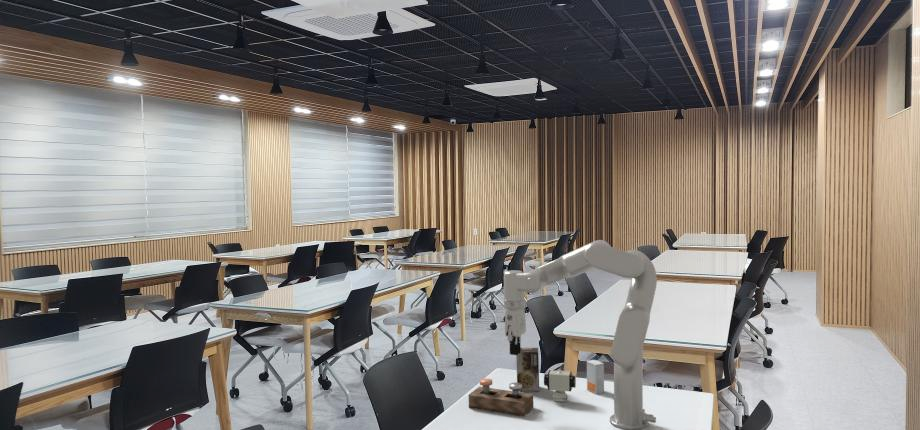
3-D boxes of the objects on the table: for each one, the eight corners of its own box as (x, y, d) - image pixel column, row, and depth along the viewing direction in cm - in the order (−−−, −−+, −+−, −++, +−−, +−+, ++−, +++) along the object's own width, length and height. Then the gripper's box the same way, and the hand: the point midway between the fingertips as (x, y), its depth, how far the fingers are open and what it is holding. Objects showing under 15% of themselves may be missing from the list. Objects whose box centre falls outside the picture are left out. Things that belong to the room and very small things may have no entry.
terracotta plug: (494, 393, 229) (494, 379, 229) (489, 397, 225) (489, 383, 225) (483, 391, 231) (482, 377, 231) (477, 395, 227) (477, 381, 227)
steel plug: (524, 397, 224) (524, 383, 224) (519, 401, 220) (519, 387, 219) (512, 395, 226) (512, 381, 226) (507, 399, 222) (507, 385, 222)
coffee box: (539, 386, 249) (538, 347, 248) (539, 391, 243) (538, 351, 242) (516, 385, 250) (516, 347, 249) (516, 391, 244) (516, 351, 243)
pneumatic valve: (575, 404, 228) (574, 372, 227) (544, 401, 231) (543, 370, 231) (576, 399, 233) (576, 368, 233) (546, 396, 236) (545, 366, 236)
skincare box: (586, 390, 243) (586, 360, 242) (595, 388, 245) (594, 359, 244) (595, 394, 237) (595, 364, 237) (604, 392, 239) (604, 363, 239)
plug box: (533, 407, 225) (533, 394, 225) (524, 416, 216) (523, 403, 216) (479, 399, 235) (479, 386, 235) (468, 407, 226) (468, 394, 226)
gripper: (516, 309, 213) (517, 360, 213) (531, 301, 227) (532, 349, 227) (496, 307, 216) (497, 358, 217) (512, 299, 230) (513, 347, 231)
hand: (515, 353), depth 222 cm, fingers closed
